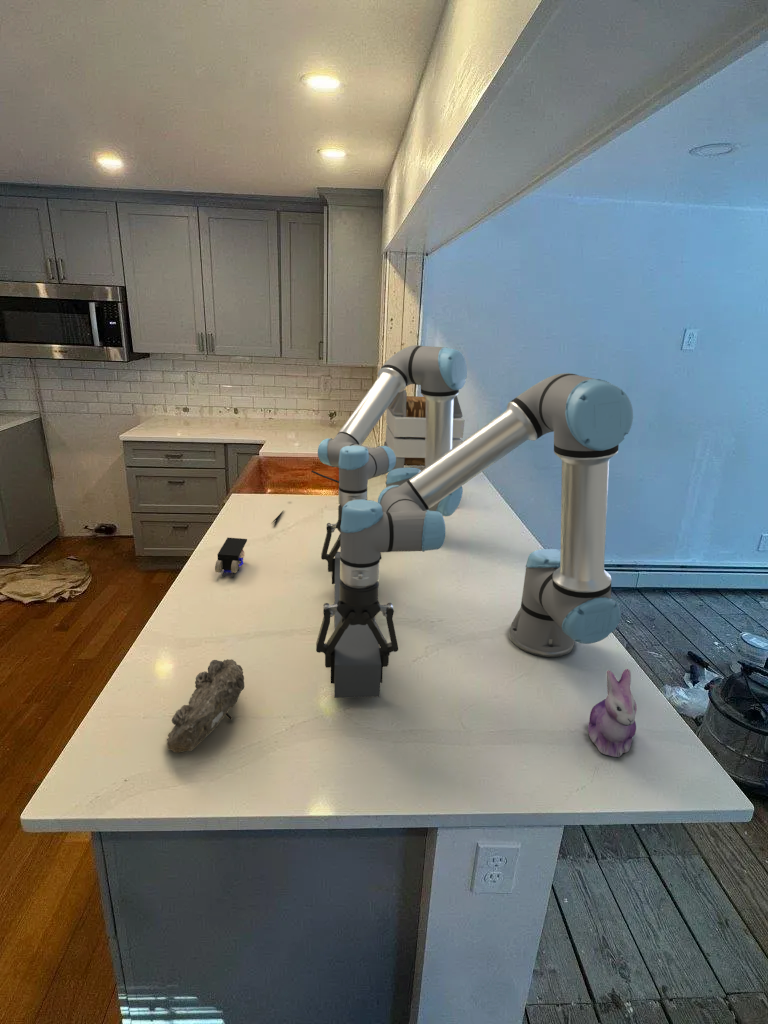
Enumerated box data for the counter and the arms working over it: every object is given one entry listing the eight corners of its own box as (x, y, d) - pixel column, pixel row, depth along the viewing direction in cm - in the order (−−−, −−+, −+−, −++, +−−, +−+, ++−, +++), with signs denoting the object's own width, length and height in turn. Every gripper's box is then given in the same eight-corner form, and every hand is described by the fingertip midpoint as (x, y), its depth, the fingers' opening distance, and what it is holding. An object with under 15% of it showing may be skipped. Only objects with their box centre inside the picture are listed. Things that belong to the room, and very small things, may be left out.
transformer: (382, 463, 289) (386, 382, 275) (445, 464, 293) (451, 384, 279) (390, 482, 257) (394, 392, 243) (460, 483, 261) (468, 394, 247)
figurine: (615, 767, 100) (631, 697, 95) (572, 730, 109) (585, 664, 103) (651, 751, 104) (668, 682, 99) (607, 716, 113) (621, 652, 108)
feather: (290, 505, 227) (293, 501, 226) (273, 528, 200) (276, 524, 200) (286, 502, 226) (289, 498, 226) (269, 525, 200) (272, 521, 199)
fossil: (192, 660, 117) (244, 628, 112) (224, 691, 120) (276, 661, 115) (142, 746, 98) (202, 712, 93) (182, 779, 101) (242, 748, 96)
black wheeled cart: (238, 584, 162) (249, 557, 175) (236, 562, 158) (247, 536, 172) (215, 584, 161) (227, 556, 175) (212, 561, 158) (225, 535, 171)
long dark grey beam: (334, 575, 161) (334, 551, 159) (365, 575, 162) (366, 551, 160) (334, 698, 111) (334, 665, 108) (379, 697, 112) (381, 664, 109)
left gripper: (310, 509, 145) (310, 588, 152) (395, 510, 147) (391, 588, 154) (311, 499, 152) (311, 575, 160) (392, 501, 154) (388, 575, 161)
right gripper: (301, 589, 104) (301, 691, 111) (418, 589, 106) (411, 689, 113) (303, 571, 111) (303, 668, 118) (413, 571, 113) (406, 667, 120)
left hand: (350, 581), depth 157 cm, fingers closed on long dark grey beam, 9 cm apart
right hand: (356, 679), depth 116 cm, fingers closed on long dark grey beam, 9 cm apart
